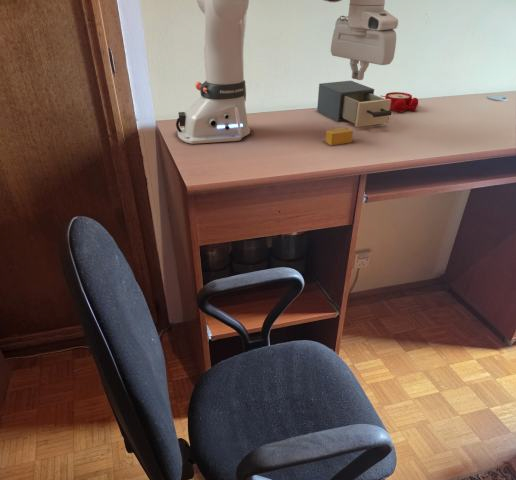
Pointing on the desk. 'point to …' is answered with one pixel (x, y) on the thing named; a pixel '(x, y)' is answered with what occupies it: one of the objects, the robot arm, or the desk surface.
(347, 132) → the yellow rectangular block
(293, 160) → the desk surface
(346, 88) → the cabinet
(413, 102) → the alarm clock
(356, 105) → the drawer
